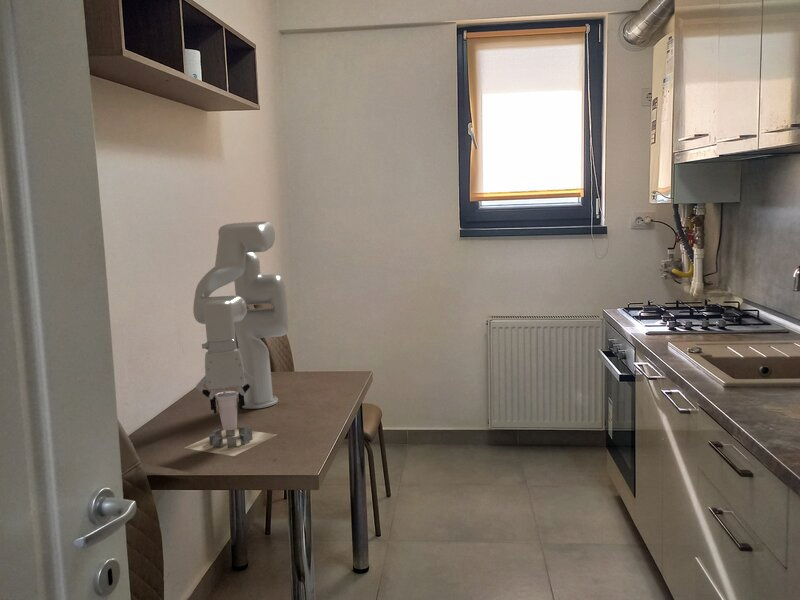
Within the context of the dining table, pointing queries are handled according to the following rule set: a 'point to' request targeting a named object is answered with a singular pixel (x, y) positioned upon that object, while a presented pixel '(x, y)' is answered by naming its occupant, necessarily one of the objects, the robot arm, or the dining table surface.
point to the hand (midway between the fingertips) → (228, 409)
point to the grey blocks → (231, 442)
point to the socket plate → (205, 446)
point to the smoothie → (228, 408)
